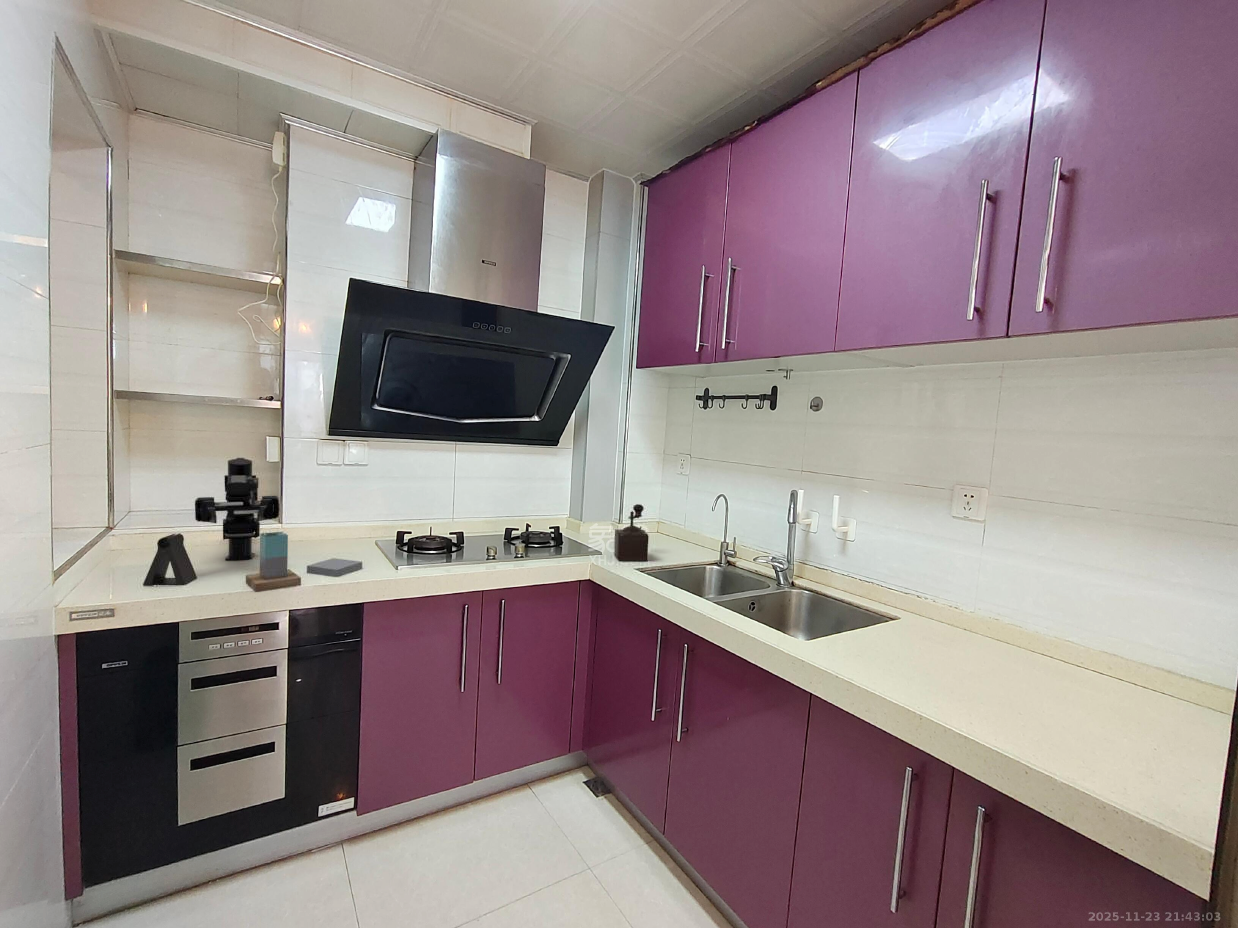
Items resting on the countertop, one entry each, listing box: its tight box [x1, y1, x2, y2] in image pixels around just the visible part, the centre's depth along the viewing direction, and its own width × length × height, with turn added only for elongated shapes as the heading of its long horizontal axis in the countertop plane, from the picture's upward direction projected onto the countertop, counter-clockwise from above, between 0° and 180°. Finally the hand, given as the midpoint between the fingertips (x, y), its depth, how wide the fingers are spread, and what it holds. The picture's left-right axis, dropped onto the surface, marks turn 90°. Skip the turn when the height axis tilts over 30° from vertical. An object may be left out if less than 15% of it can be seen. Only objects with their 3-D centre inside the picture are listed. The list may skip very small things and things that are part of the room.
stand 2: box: [306, 557, 363, 578], centre depth 157 cm, size 10×10×2 cm
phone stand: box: [142, 532, 198, 587], centre depth 139 cm, size 9×6×12 cm, turn 104°
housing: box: [259, 531, 289, 580], centre depth 142 cm, size 5×5×11 cm
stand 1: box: [245, 568, 302, 593], centre depth 142 cm, size 10×10×2 cm
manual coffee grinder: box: [613, 503, 649, 563], centre depth 194 cm, size 16×11×18 cm
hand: (236, 520), depth 143 cm, fingers open, 9 cm apart
